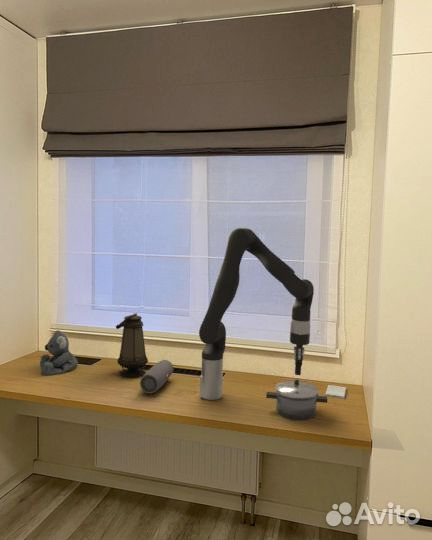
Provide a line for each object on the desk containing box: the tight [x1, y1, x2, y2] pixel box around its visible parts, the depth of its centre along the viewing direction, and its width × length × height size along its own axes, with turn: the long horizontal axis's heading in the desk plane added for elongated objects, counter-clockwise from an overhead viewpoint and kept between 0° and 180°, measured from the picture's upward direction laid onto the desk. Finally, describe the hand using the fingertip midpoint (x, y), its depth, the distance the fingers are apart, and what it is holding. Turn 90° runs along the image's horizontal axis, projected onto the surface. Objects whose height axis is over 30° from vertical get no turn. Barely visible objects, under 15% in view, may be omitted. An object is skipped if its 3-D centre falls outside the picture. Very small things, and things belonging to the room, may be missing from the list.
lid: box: [274, 378, 319, 399], centre depth 179 cm, size 17×18×4 cm
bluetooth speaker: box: [139, 359, 174, 394], centre depth 202 cm, size 23×9×10 cm, turn 168°
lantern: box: [115, 313, 149, 379], centre depth 219 cm, size 18×15×30 cm
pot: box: [265, 391, 328, 421], centre depth 178 cm, size 24×16×8 cm, turn 81°
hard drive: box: [324, 384, 347, 400], centre depth 201 cm, size 2×8×12 cm
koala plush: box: [39, 329, 79, 376], centre depth 223 cm, size 17×18×20 cm
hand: (297, 374), depth 173 cm, fingers closed
